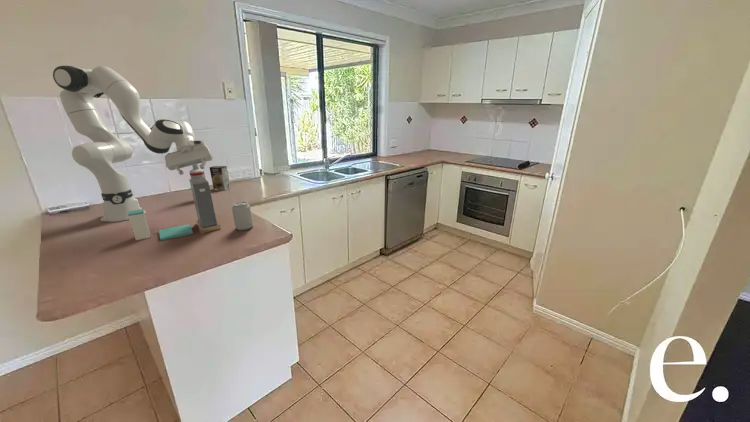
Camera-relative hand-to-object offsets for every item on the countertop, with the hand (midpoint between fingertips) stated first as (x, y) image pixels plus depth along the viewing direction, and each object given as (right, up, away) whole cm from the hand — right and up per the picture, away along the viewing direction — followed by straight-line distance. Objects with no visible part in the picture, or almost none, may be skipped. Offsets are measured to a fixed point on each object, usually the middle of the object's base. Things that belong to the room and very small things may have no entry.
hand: (191, 171), depth 143 cm
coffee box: (-20, -4, +68) cm, 71 cm away
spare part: (-14, -30, -12) cm, 36 cm away
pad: (-2, -29, -8) cm, 30 cm away
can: (+27, -27, -4) cm, 39 cm away
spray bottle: (-20, -12, +43) cm, 49 cm away
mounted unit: (+9, -26, -1) cm, 28 cm away
